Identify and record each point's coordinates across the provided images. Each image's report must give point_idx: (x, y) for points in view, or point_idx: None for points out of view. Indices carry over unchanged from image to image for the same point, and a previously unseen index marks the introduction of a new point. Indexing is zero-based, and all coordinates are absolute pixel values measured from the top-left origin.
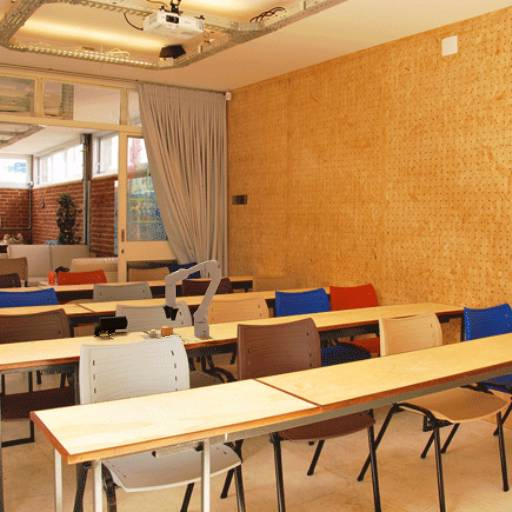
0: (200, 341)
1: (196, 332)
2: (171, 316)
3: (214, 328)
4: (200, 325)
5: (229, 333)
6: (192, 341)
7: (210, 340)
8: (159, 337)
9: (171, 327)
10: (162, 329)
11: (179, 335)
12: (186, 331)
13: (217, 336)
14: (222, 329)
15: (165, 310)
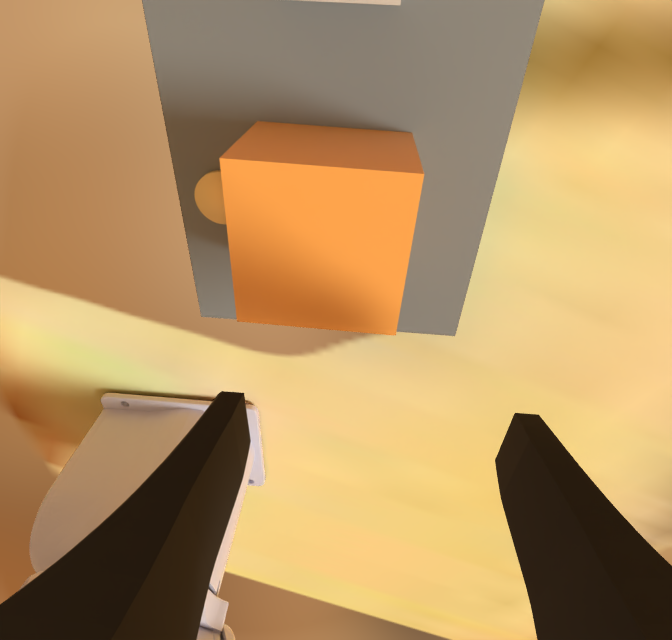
0: (11, 371)
1: (144, 445)
2: (159, 466)
3: (449, 581)
4: (37, 527)
5: (252, 569)
6: (16, 322)
7: (47, 434)
8: (185, 2)
9: (244, 302)
10: (309, 153)
11: (232, 314)
12: (490, 452)
13: None
14: (389, 590)
15: (622, 618)
